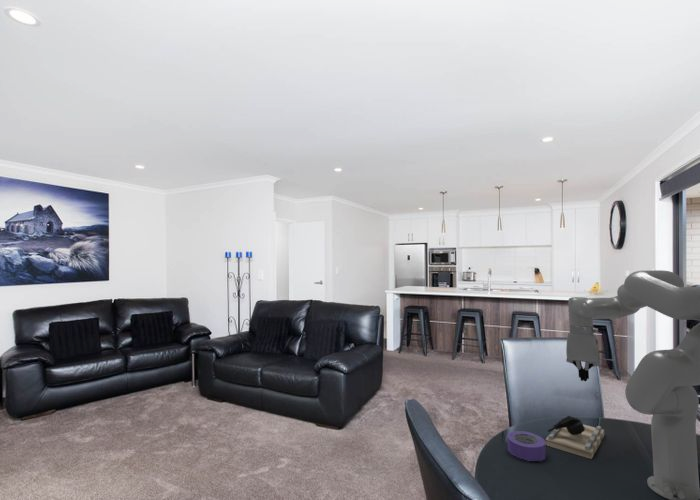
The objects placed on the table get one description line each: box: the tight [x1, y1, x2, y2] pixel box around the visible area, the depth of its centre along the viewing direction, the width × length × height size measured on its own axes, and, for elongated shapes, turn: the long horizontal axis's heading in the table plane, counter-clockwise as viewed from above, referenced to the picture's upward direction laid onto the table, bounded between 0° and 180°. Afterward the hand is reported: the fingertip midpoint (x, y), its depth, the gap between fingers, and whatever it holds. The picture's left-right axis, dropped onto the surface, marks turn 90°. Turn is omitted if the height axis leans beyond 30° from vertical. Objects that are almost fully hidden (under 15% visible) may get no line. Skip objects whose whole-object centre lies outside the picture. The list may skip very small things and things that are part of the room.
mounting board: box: [544, 424, 606, 460], centre depth 133 cm, size 24×14×3 cm, turn 136°
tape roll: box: [506, 430, 547, 462], centre depth 124 cm, size 12×12×5 cm
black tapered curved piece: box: [547, 415, 585, 439], centre depth 131 cm, size 6×8×12 cm
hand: (583, 380), depth 134 cm, fingers closed
